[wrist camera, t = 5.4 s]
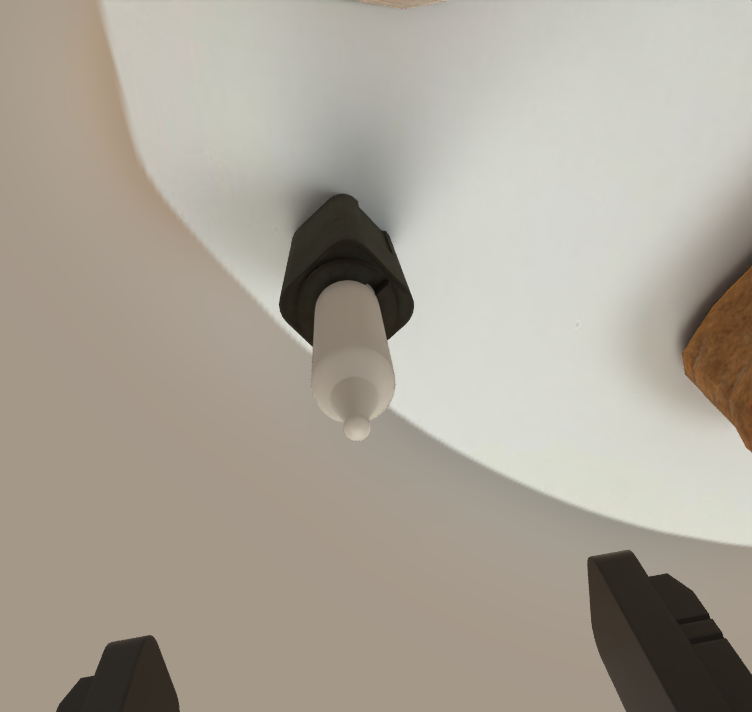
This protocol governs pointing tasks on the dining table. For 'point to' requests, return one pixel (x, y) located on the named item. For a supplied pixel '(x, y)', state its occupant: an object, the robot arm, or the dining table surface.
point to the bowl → (402, 3)
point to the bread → (726, 356)
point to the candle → (346, 310)
